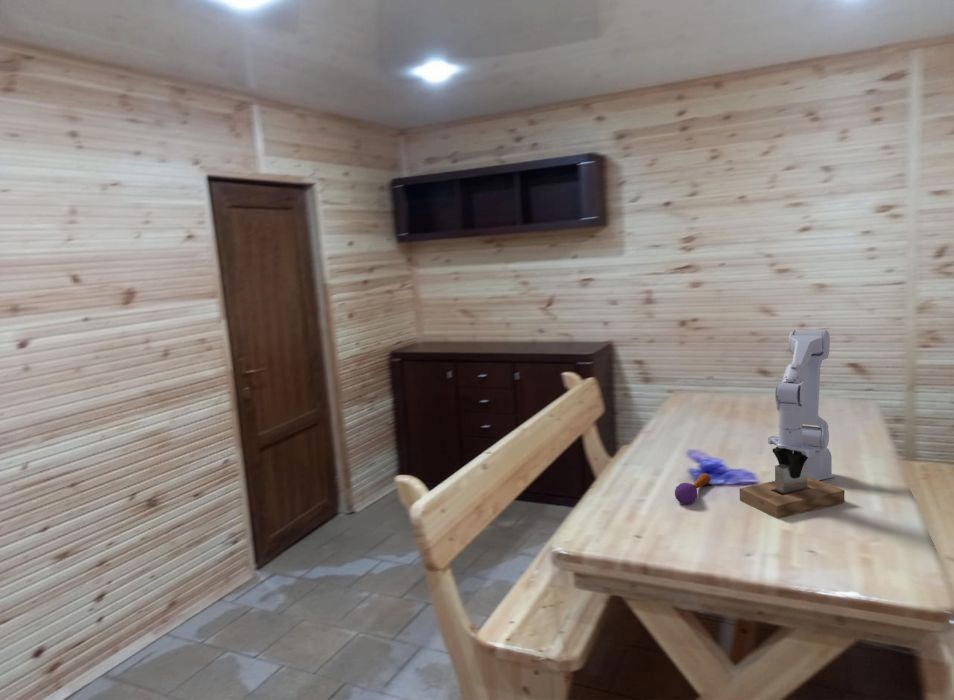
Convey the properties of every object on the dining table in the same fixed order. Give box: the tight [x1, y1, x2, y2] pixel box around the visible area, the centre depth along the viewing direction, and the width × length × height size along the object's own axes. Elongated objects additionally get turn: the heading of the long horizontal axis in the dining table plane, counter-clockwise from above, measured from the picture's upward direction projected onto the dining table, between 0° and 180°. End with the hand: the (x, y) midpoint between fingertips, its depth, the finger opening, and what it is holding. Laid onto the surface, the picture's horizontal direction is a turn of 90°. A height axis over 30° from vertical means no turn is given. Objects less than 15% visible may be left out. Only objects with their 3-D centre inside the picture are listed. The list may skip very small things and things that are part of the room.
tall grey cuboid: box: [774, 463, 807, 494], centre depth 172 cm, size 8×3×7 cm, turn 107°
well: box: [739, 476, 846, 520], centre depth 173 cm, size 22×14×4 cm, turn 107°
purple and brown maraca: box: [674, 473, 711, 506], centre depth 183 cm, size 6×6×20 cm
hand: (790, 475), depth 172 cm, fingers closed on tall grey cuboid, 3 cm apart
